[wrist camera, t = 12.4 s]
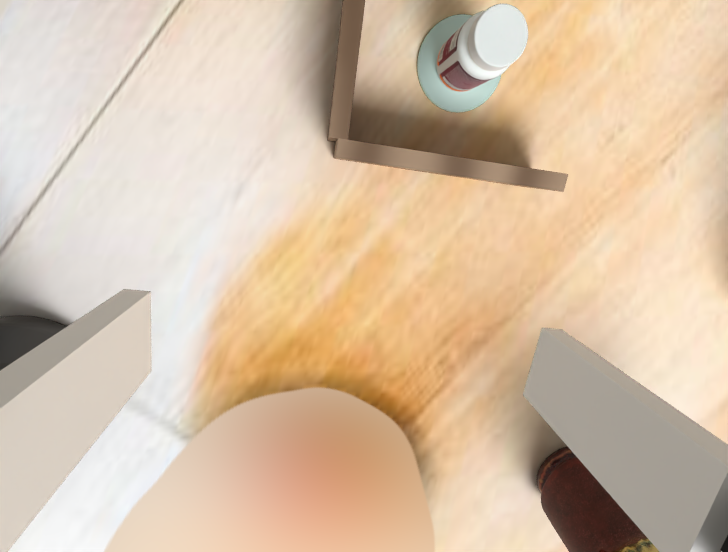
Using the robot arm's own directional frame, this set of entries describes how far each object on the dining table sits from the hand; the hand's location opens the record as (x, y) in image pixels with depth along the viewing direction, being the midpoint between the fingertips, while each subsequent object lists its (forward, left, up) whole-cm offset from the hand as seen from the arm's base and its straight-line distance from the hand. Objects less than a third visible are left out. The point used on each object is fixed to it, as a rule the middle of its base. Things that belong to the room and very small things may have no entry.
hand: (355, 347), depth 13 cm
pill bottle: (+10, +16, -27) cm, 33 cm away
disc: (+10, +16, -27) cm, 33 cm away
